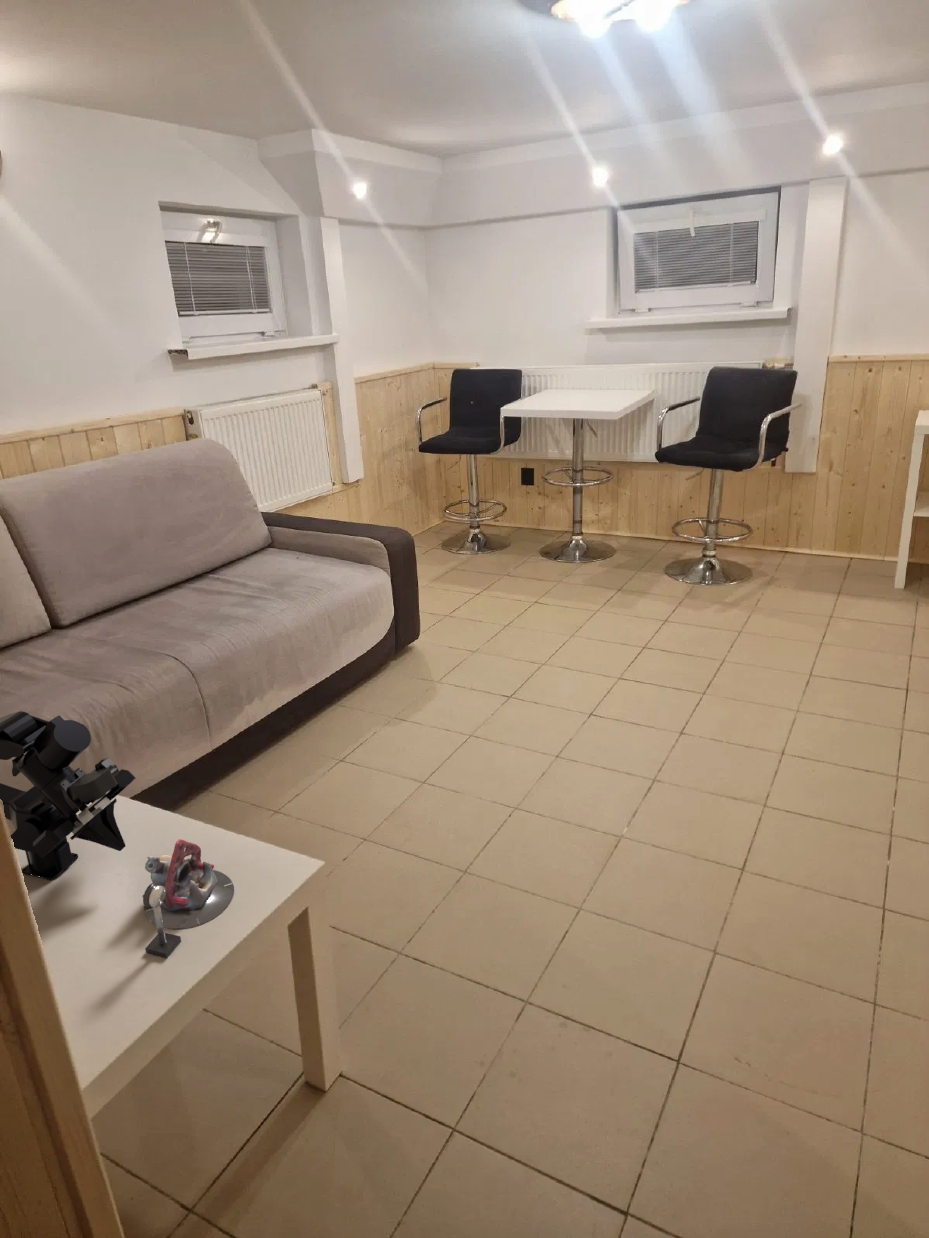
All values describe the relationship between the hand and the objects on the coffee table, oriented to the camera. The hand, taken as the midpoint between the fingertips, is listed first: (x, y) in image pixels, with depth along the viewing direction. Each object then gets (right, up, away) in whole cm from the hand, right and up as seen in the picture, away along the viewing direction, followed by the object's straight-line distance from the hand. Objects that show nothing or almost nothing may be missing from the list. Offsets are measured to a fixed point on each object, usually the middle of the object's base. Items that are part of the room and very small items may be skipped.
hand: (122, 848), depth 134 cm
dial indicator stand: (+10, -12, -10) cm, 19 cm away
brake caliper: (+10, -8, 0) cm, 13 cm away
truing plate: (+11, -8, 0) cm, 14 cm away
